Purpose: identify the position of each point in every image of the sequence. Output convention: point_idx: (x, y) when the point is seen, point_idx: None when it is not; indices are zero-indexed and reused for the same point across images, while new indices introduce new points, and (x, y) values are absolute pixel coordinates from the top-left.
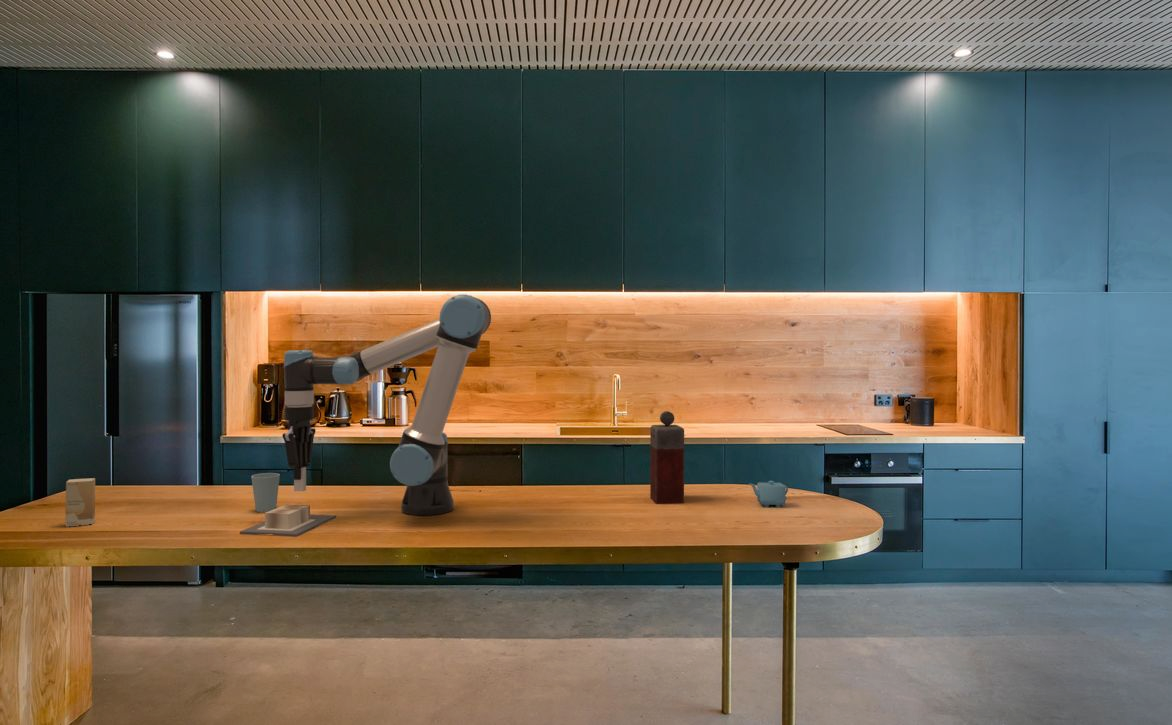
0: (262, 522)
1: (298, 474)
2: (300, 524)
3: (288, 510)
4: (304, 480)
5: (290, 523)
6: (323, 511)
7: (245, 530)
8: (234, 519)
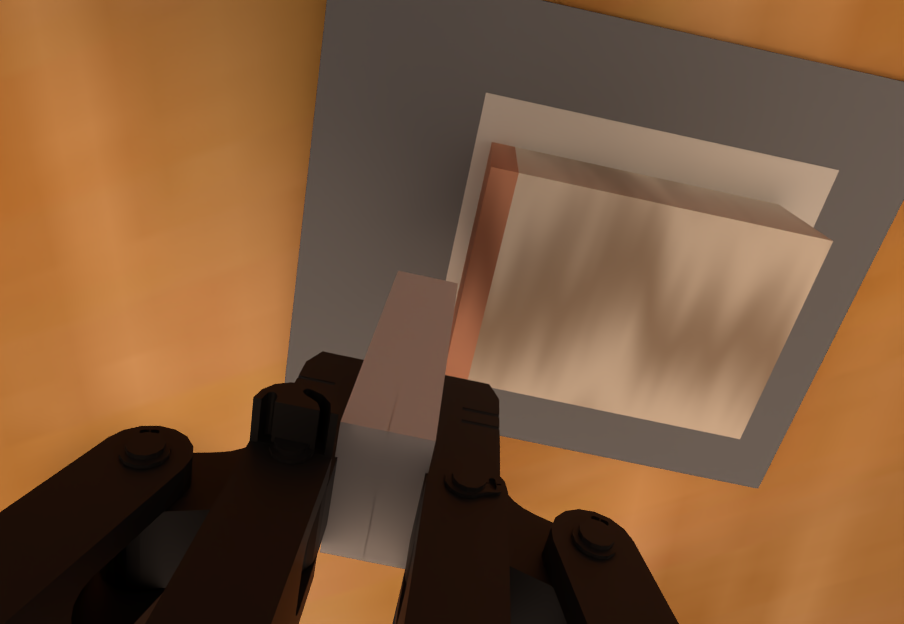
0: (539, 439)
1: (499, 430)
2: (639, 168)
3: (685, 291)
4: (416, 329)
5: (781, 211)
6: (136, 148)
7: (741, 467)
8: (395, 602)
